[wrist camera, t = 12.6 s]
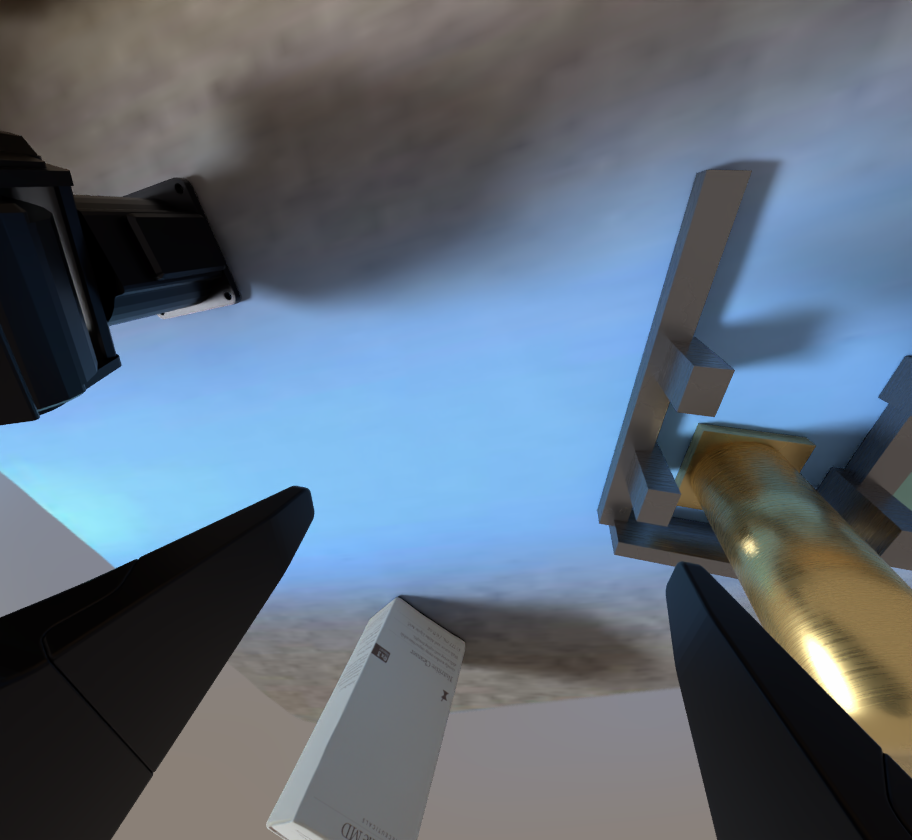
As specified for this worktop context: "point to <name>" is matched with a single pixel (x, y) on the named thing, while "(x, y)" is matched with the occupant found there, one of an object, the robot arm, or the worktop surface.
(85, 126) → the worktop surface
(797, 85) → the worktop surface
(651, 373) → the frame
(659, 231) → the worktop surface
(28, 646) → the robot arm
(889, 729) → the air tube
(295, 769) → the skincare box
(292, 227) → the worktop surface
